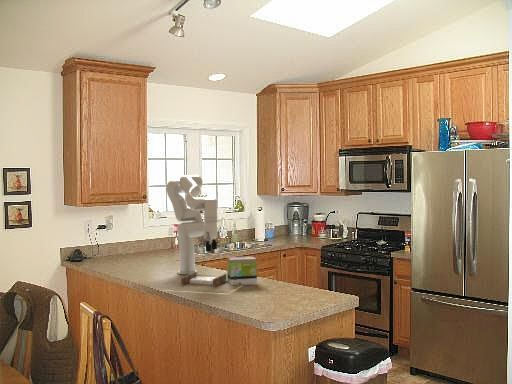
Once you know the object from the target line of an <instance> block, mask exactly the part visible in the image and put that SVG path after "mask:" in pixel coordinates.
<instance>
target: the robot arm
mask: <svg viewBox="0 0 512 384" xmlns="http://www.w3.org/2000/svg"><path fill="white" fill-rule="evenodd" d="M202 186H203V179H202V176H200V175H199V174H194V175H193V174H191V175H190V174H189V175H187V174H186V175H182V176H181V177H180V178H179V179H172V180H170V181H168V182H167V184H166V193H167V197H168V198H169V200H170V203H171V205H172V208H173V212H174V215H175V219H176V220H177V221H178V222H179V224H178V225H177V229H176V232H177V236H178V237H177V238H178V249H179V253H178V254H179V255H178V256H179V270H177V274H179V275H189V274H191V273H194V272H196V274H197V273H198V270H197V269H196V268H197V266H198V265H197V264H196V262H195V261H196V256H195V255H196V254H195V250H196V249H195V242H194V241H193V240H192V238H196V237H203V240H204V242H205V252H212V250H217V249H218V234H219V233H218V201H217V200H218V199H217V198H212V197H198V196H199V195H200V193H201V188H202ZM185 193H186V194H185ZM181 194H185V198H184V197H183V196H182V195H181ZM202 211H203V215H204V217H203V216H202V214H201V212H202ZM203 220H204V221H203Z"/></svg>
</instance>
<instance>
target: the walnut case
mask: <svg viewBox="0 0 512 384" xmlns="http://www.w3.org/2000/svg"><path fill="white" fill-rule="evenodd" d="M194 277H197V273H196V272H194V273H191V274H186V275H185V276H181V279H180V280H181V285H180V286H186V287H200V288H201V287H203V288H205V287H206V288H217V287H218V286H220V285H222V284H224V283H226V282H227V273H223V274H220V275H219V276H215V277H216V278H214V279H213V285H197V284H190V279H192V278H194Z"/></svg>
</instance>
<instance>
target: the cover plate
mask: <svg viewBox="0 0 512 384" xmlns="http://www.w3.org/2000/svg"><path fill="white" fill-rule="evenodd" d="M216 277H217V276H198V275H196V277H194V278H192V279H190V284H197V285H213V279H214V278H216Z"/></svg>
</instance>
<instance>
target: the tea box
mask: <svg viewBox="0 0 512 384" xmlns="http://www.w3.org/2000/svg"><path fill="white" fill-rule="evenodd" d="M226 261H227V262H226V263H227V265H226V266H227V267H226V268H227V270H226V274H227V281H226V282H227V283H228V284H229V285H231V286H234V285H235V286H237V285H241V286H247V285H251V286H252V285H255V286H256V285H257V284H258V259H257V258H256V257H254V256H234V257H233V256H232V257H227V259H226Z"/></svg>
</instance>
